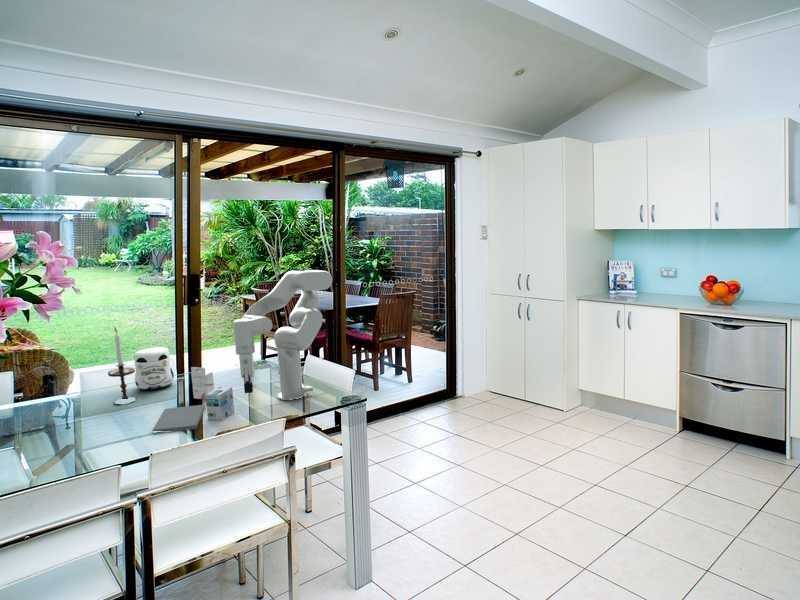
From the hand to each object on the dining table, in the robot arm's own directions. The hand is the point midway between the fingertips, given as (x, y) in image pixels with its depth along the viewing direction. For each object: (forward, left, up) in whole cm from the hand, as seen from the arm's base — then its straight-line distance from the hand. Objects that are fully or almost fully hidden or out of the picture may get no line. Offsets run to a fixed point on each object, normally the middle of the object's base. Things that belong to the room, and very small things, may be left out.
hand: (248, 392), depth 233 cm
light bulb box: (+12, 0, -9) cm, 15 cm away
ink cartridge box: (+22, -27, -9) cm, 36 cm away
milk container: (+48, -52, -9) cm, 71 cm away
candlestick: (+57, -33, -9) cm, 66 cm away
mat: (+28, 0, -9) cm, 29 cm away
